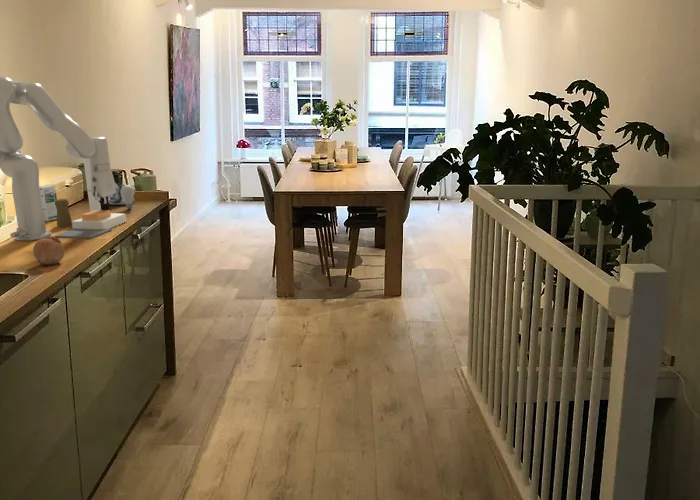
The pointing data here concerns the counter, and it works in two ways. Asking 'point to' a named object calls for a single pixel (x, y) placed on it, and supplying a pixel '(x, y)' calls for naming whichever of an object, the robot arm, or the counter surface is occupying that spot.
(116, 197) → the lucky cat figurine
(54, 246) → the onion
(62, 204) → the olive green shaker
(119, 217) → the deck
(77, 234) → the mat
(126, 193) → the lightbulb
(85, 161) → the tall white block
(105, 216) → the tile
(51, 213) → the syrup box
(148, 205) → the counter surface
